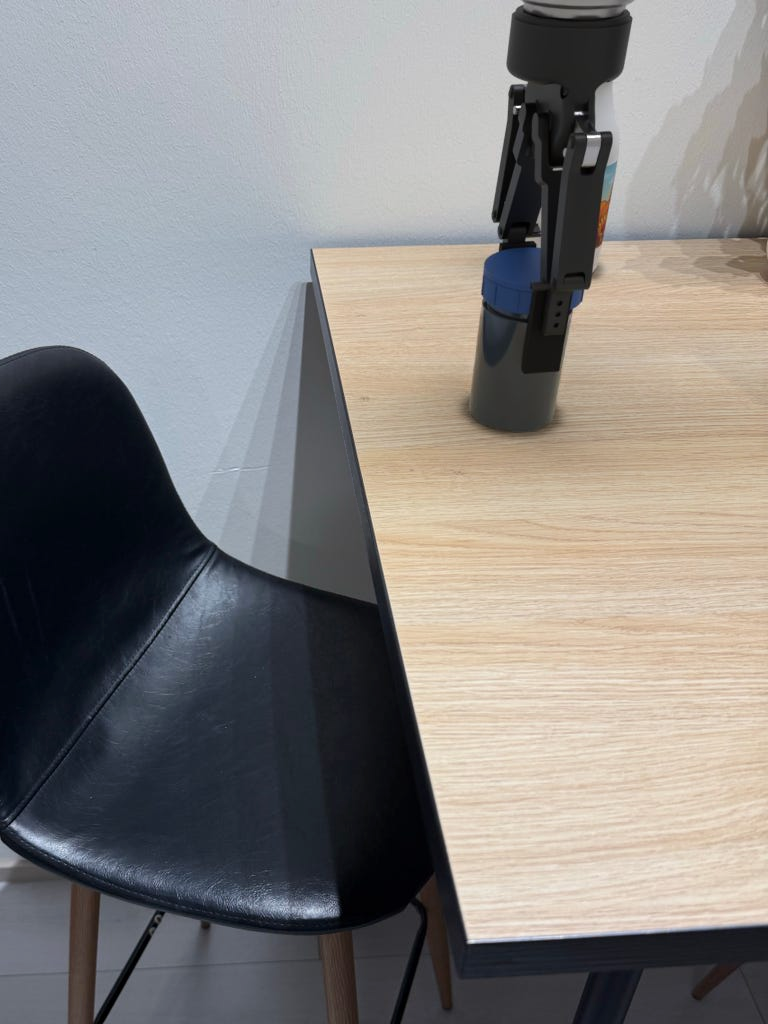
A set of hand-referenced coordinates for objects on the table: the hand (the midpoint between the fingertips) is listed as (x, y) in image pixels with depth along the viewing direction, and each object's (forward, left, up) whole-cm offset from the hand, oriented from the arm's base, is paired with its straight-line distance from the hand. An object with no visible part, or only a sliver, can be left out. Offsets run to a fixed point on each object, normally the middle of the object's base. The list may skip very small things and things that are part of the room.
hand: (522, 346), depth 80 cm
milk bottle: (-19, -26, -6) cm, 33 cm away
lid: (0, 0, +6) cm, 6 cm away
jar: (0, 0, -6) cm, 6 cm away
